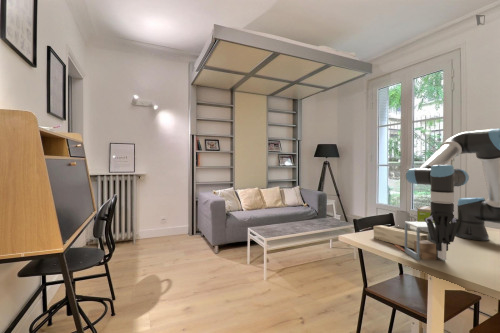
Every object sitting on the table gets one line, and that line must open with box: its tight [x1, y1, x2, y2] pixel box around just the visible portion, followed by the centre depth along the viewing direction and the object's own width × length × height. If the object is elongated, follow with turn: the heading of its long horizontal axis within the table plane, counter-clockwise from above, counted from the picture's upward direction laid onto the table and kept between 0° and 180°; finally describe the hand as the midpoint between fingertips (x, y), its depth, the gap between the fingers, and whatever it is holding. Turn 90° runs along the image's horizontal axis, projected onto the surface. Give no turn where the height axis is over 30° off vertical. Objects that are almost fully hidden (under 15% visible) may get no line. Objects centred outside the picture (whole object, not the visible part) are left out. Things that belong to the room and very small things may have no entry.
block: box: [414, 240, 437, 261], centre depth 109 cm, size 6×6×7 cm
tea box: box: [416, 205, 434, 233], centre depth 155 cm, size 15×10×15 cm, turn 130°
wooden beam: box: [373, 225, 428, 249], centre depth 125 cm, size 6×26×7 cm, turn 22°
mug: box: [394, 210, 417, 230], centre depth 159 cm, size 12×8×11 cm
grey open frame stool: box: [394, 221, 446, 262], centre depth 114 cm, size 12×19×15 cm, turn 176°
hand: (442, 258), depth 98 cm, fingers closed
